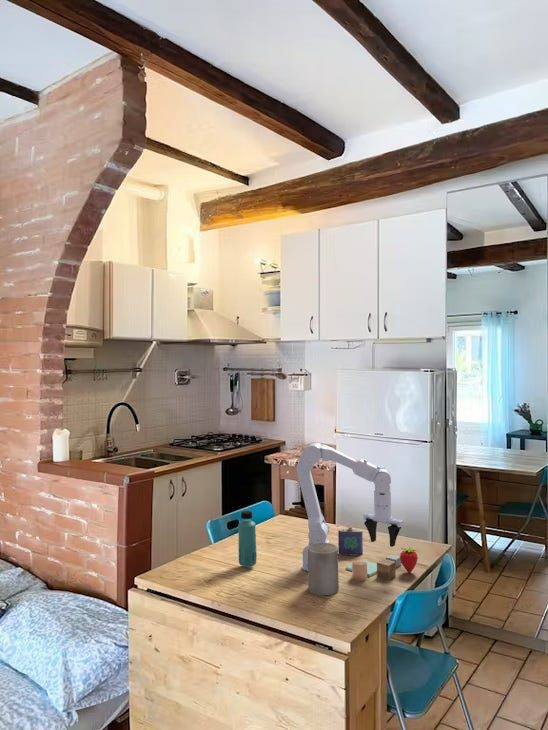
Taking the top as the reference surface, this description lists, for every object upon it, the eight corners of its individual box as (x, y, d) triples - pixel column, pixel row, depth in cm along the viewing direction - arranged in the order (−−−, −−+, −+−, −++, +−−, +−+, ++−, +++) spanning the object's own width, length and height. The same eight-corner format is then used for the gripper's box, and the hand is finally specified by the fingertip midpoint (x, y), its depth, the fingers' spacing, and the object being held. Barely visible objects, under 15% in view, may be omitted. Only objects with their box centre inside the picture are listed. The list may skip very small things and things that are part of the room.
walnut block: (388, 580, 188) (388, 565, 188) (377, 577, 191) (376, 562, 191) (395, 576, 191) (395, 562, 191) (384, 573, 194) (384, 558, 194)
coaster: (369, 576, 191) (369, 574, 191) (345, 569, 198) (345, 567, 198) (385, 568, 198) (385, 566, 198) (362, 561, 205) (362, 559, 205)
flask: (362, 552, 215) (362, 524, 214) (363, 555, 212) (363, 527, 212) (338, 552, 215) (337, 524, 215) (338, 555, 212) (338, 527, 212)
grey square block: (395, 568, 199) (395, 559, 199) (385, 565, 202) (385, 557, 202) (401, 565, 202) (401, 556, 202) (391, 562, 205) (391, 554, 205)
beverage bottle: (254, 571, 196) (253, 514, 196) (236, 570, 198) (235, 513, 198) (258, 564, 203) (258, 509, 203) (240, 563, 204) (240, 508, 204)
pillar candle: (319, 581, 187) (318, 536, 187) (344, 588, 181) (343, 542, 181) (302, 591, 180) (301, 544, 180) (327, 599, 174) (326, 550, 173)
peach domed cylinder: (361, 582, 187) (361, 567, 186) (349, 578, 190) (349, 563, 190) (370, 577, 190) (370, 563, 190) (357, 574, 194) (357, 559, 194)
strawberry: (398, 575, 192) (397, 546, 192) (402, 567, 199) (402, 539, 199) (415, 578, 189) (415, 548, 189) (419, 570, 196) (419, 541, 196)
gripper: (407, 505, 193) (407, 545, 193) (371, 498, 202) (371, 536, 203) (396, 509, 187) (396, 550, 188) (359, 502, 197) (360, 541, 197)
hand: (382, 543), depth 195 cm, fingers open, 7 cm apart
